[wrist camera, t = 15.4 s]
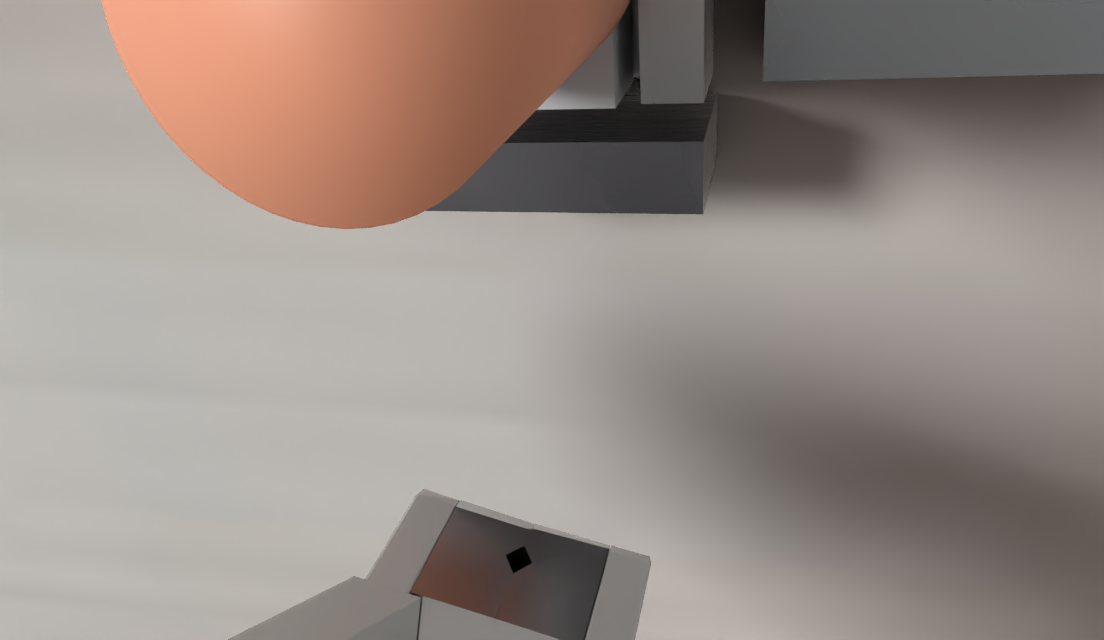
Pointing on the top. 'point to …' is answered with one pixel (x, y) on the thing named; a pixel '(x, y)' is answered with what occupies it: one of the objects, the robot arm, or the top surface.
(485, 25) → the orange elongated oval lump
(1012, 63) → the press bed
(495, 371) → the top surface
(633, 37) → the rail
